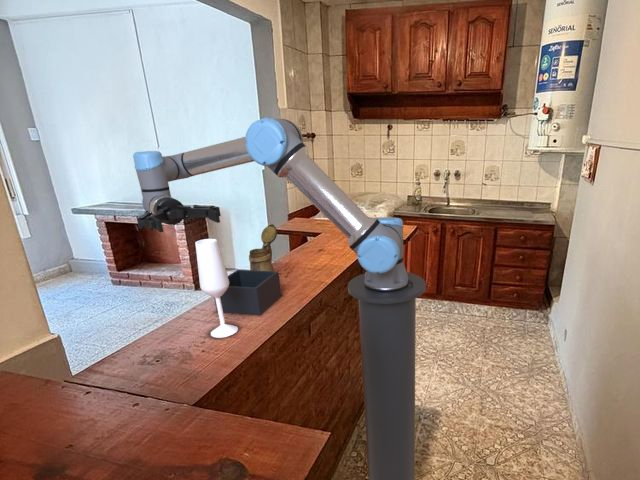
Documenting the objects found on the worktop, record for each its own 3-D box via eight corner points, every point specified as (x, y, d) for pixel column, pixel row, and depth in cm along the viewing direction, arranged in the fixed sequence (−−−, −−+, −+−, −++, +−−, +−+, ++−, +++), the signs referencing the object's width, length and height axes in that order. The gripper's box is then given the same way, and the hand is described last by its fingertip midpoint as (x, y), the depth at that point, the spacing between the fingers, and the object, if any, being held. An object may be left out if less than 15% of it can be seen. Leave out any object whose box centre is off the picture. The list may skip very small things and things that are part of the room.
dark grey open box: (281, 295, 123) (278, 271, 120) (260, 315, 111) (256, 288, 108) (241, 293, 126) (237, 269, 123) (216, 311, 113) (211, 286, 110)
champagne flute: (221, 340, 98) (202, 246, 89) (204, 333, 102) (184, 243, 93) (243, 328, 103) (227, 239, 94) (227, 322, 107) (209, 236, 98)
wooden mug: (290, 274, 140) (283, 224, 134) (266, 288, 129) (258, 234, 122) (269, 272, 144) (262, 223, 137) (244, 285, 132) (235, 232, 125)
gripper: (214, 216, 123) (241, 227, 108) (121, 230, 108) (137, 246, 93) (209, 191, 120) (236, 200, 105) (113, 202, 105) (129, 214, 90)
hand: (190, 221), depth 99 cm, fingers open, 13 cm apart
